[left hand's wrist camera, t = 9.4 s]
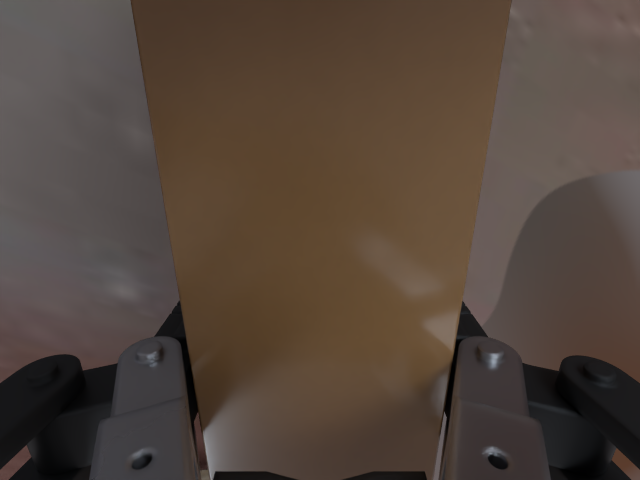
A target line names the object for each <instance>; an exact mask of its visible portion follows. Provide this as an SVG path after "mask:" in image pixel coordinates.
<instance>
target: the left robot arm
mask: <svg viewBox="0 0 640 480" xmlns="http://www.w3.org/2000/svg"><path fill="white" fill-rule="evenodd" d="M197 412H198V407H197V400H196V394H195V388H194V382H193V376H192V370H191V364H190V358H189V352H188V346H187V340H186V334H185V328H184V321H183V315H182V309H181V303H180V301H179V302H178V303H177V306H175V308H174V309H173V311H172V314H170V315H169V316H168V318H167V319H166V321H165V322H164V324H163V325H162V326H161V328H160V329H159V331H158V332H157V334H156V335H155V336H154V337H151V338H147V339H144V340H141V341H139V342H137V343H135V344H133V345H131V346H130V347H128V348H127V349H126V350H125V351H124V352H123V353H122V354H121V356H120V357H119V360H118V363H117V364H113V365H108V366H103V367H99V368H94V369H89V370H84V371H83V370H82V366H81V363H80V361H79V359H78V358H77V357H75V356H73V355H66V354H63V355H54V356H49V357H46V358H42V359H39V360H37V361H34V362H32V363H30V364H28V365H26V366H24V367H23V368H21V369H20V370H18V371H17V372H15V373H14V374H12V375H11V376H10V377H8V378H7V379H6V380H4V381H3V382H1V383H0V469H1V468H2V467H3V466H4V465H5V464H7V463H8V462H9V461H10V460H11V459H12V458H13V457H14V456H15V455H16V454H17V453H18V452H19V451H20V450H21V449H22V448H24V447H25V446H26V445H27V447H28V449H29V452H30V454H31V458H30V459H29V460H28V461H27V462H26V463H25V464H24V465H23V466H22V467H21V468H20V469H19V470H18V471H17V472H16V473H15V474H14V475H13V476H12V477H11V478H10V479H9V480H201V473H200V464H199V456H198V448H197V440H196V432H195V426H194V420H195V418H196V415H197ZM444 412H445V414H446V417H447V420H446V426H445V433H444V440H443V448H442V456H441V465H440V473H439V480H631V479H630V478H629V477H628V476H627V475H626V474H625V473H624V472H623V471H622V470H621V469H620V468H619V467H618V466H617V465H616V464H615V463H614V462H613V461H612V457H613V455H614V452H615V450H616V448H618V449H619V450H620V451H621V452H622V453H623V454H624V455H625V456H626V457H627V458H628V459H629V460H630V461H631V462H632V463H633V464H635V465H636V466H637V467H638V468H639V469H640V383H639V382H637V381H636V380H634V379H633V378H632V377H630V376H629V375H628V374H626V373H625V372H623V371H622V370H620V369H619V368H617V367H615V366H613V365H611V364H609V363H607V362H604V361H602V360H599V359H596V358H592V357H587V356H569V357H566V358H565V359H563V360H562V362H561V365H560V369H559V371H555V370H551V369H546V368H541V367H536V366H532V365H528V364H524V363H522V360H521V357H520V356H519V354H518V353H517V352H516V351H515V350H514V349H513V348H512V347H510V346H509V345H507V344H505V343H503V342H501V341H499V340H496V339H493V338H489V337H488V336H487V335H486V333H485V332H484V330H483V329H482V328H481V326H480V325H479V323H478V322H477V321H476V319H475V318H474V316H473V315H472V314H471V312H470V311H469V309H468V308H467V306H465V304H464V302H463V301H462V306H461V312H460V318H459V324H458V330H457V336H456V342H455V348H454V354H453V360H452V367H451V373H450V379H449V385H448V391H447V397H446V403H445V409H444ZM213 480H297V479H294V478H290V477H286V476H282V475H279V474H275V473H271V472H267V471H215V474H214V477H213ZM343 480H427V477H426V474H425V471H373V472H369V473H365V474H361V475H358V476H354V477H350V478H346V479H343Z"/></svg>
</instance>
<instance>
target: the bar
mask: <svg viewBox="0 0 640 480" xmlns="http://www.w3.org/2000/svg"><path fill="white" fill-rule="evenodd" d="M511 1H512V0H131V5H132V12H133V18H134V24H135V30H136V36H137V42H138V48H139V54H140V60H141V66H142V72H143V78H144V84H145V91H146V97H147V103H148V109H149V115H150V121H151V127H152V133H153V139H154V145H155V151H156V157H157V163H158V170H159V176H160V182H161V188H162V194H163V200H164V206H165V212H166V218H167V224H168V230H169V236H170V242H171V249H172V255H173V261H174V267H175V273H176V279H177V285H178V291H179V297H180V303H181V309H182V315H183V321H184V328H185V334H186V340H187V346H188V352H189V358H190V364H191V370H192V376H193V382H194V388H195V394H196V400H197V407H198V413H199V419H200V425H201V431H202V437H203V443H204V449H205V455H206V461H207V467H208V473H209V479H210V480H213V477H214V474H215V471H267V472H271V473H275V474H279V475H282V476H286V477H290V478H294V479H297V480H343V479H346V478H350V477H354V476H358V475H361V474H365V473H369V472H373V471H425V474H426V477H427V480H433V476H434V470H435V464H436V458H437V452H438V446H439V440H440V434H441V427H442V421H443V415H444V409H445V403H446V397H447V391H448V385H449V379H450V373H451V367H452V360H453V354H454V348H455V342H456V336H457V330H458V324H459V318H460V312H461V306H462V300H463V293H464V287H465V281H466V275H467V269H468V263H469V257H470V251H471V245H472V239H473V232H474V226H475V220H476V214H477V208H478V202H479V196H480V190H481V184H482V178H483V172H484V165H485V159H486V153H487V147H488V141H489V135H490V129H491V123H492V117H493V111H494V105H495V98H496V92H497V86H498V80H499V74H500V68H501V62H502V56H503V50H504V44H505V38H506V31H507V25H508V19H509V13H510V7H511Z"/></svg>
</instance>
